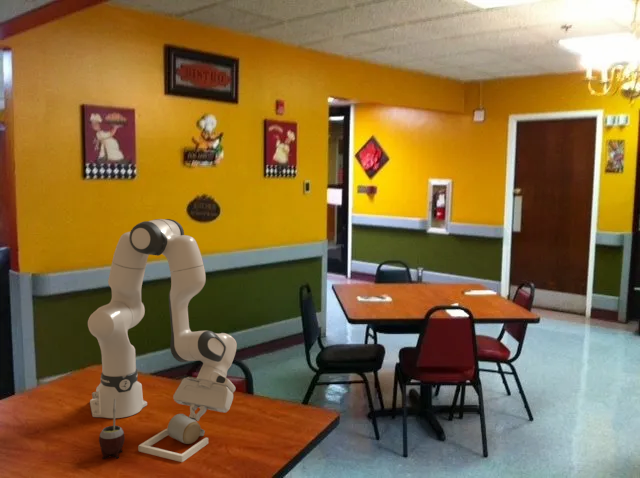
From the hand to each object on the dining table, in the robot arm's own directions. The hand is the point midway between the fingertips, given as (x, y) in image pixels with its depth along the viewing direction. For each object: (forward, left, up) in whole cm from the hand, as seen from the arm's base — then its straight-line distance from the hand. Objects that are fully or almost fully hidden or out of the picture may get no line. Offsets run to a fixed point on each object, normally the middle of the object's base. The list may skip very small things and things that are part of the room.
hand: (193, 419), depth 185 cm
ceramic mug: (+2, -3, -5) cm, 6 cm away
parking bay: (+4, -8, -5) cm, 10 cm away
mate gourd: (-2, -25, -5) cm, 26 cm away
